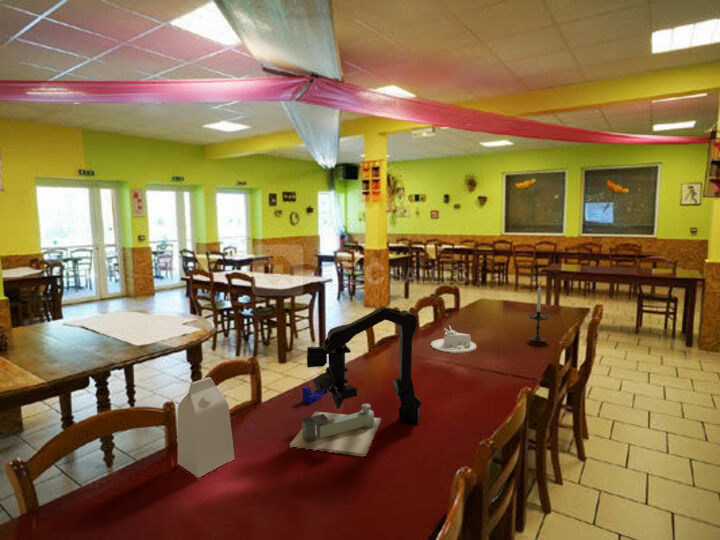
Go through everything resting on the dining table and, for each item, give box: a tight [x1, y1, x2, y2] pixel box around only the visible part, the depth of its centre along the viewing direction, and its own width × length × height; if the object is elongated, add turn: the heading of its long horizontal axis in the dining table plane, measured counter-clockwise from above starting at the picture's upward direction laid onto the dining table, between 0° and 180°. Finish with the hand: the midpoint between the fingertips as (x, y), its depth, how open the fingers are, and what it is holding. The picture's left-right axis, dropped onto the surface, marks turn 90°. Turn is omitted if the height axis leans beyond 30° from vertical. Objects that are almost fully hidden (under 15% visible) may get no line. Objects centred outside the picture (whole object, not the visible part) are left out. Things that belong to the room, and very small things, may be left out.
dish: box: [430, 324, 477, 354], centre depth 243 cm, size 25×25×11 cm
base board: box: [289, 411, 382, 457], centre depth 148 cm, size 25×24×1 cm
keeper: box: [301, 414, 328, 443], centre depth 143 cm, size 8×4×6 cm, turn 116°
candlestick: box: [528, 281, 550, 343], centre depth 250 cm, size 11×11×35 cm
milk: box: [177, 376, 236, 478], centre depth 130 cm, size 12×12×26 cm
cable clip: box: [302, 386, 329, 405], centre depth 177 cm, size 12×4×6 cm, turn 145°
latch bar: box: [317, 403, 375, 439], centre depth 147 cm, size 21×5×6 cm, turn 119°
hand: (337, 408), depth 152 cm, fingers closed
